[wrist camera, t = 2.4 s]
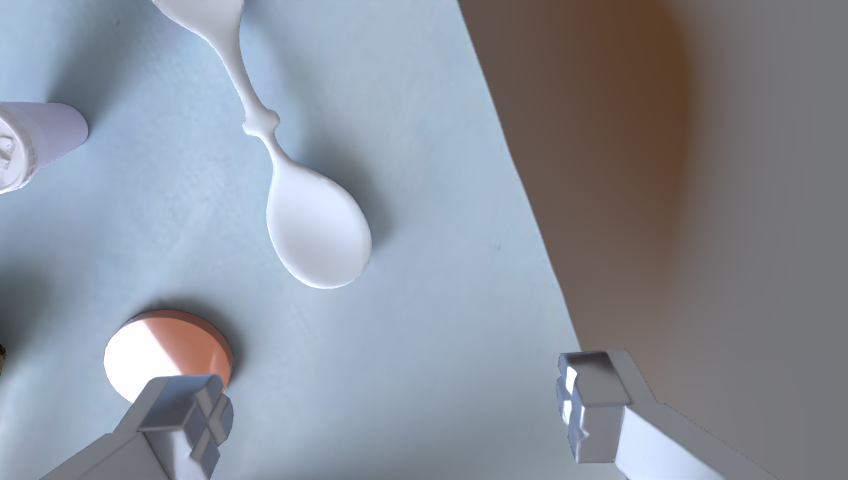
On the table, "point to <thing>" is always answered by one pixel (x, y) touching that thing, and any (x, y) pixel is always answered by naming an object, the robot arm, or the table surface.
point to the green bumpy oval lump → (2, 356)
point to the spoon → (285, 168)
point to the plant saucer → (165, 350)
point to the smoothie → (35, 138)
